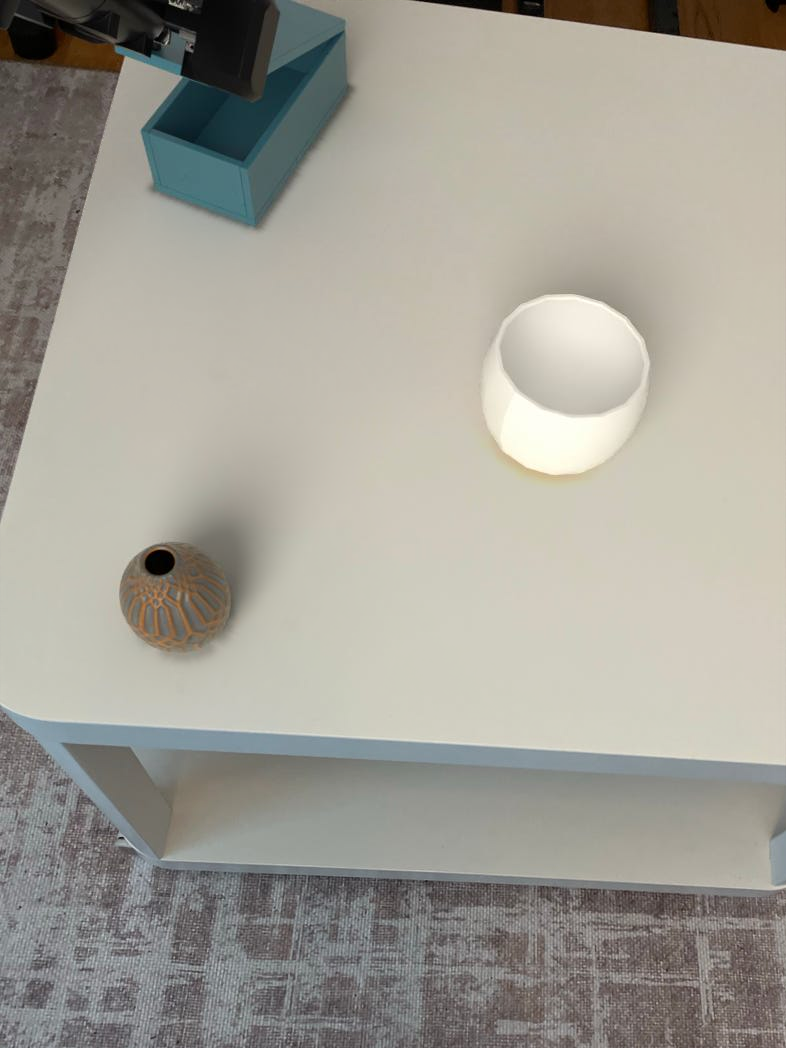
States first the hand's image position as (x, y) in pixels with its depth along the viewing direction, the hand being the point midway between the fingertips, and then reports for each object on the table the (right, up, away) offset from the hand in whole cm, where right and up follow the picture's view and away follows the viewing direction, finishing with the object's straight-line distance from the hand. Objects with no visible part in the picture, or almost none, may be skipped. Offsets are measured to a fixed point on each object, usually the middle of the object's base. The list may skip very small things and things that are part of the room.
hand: (193, 40), depth 67 cm
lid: (+2, +4, +6) cm, 8 cm away
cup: (+27, -28, +6) cm, 39 cm away
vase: (+1, -43, -4) cm, 43 cm away
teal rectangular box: (+1, +1, +15) cm, 15 cm away
